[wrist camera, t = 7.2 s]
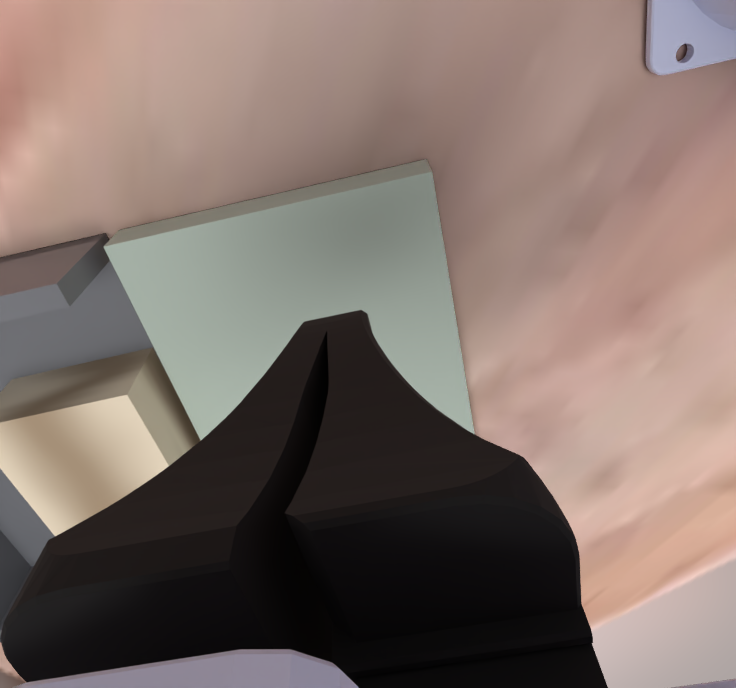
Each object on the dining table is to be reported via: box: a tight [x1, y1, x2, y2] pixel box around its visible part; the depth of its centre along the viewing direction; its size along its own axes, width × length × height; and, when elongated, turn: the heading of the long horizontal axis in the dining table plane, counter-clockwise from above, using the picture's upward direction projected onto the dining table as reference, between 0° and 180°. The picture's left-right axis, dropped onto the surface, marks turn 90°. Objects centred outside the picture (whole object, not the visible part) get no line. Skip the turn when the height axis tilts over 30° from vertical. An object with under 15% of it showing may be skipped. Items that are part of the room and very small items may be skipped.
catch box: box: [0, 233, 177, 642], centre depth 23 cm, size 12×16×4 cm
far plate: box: [104, 159, 475, 440], centre depth 23 cm, size 11×16×2 cm
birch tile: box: [0, 347, 201, 536], centre depth 23 cm, size 6×6×3 cm
